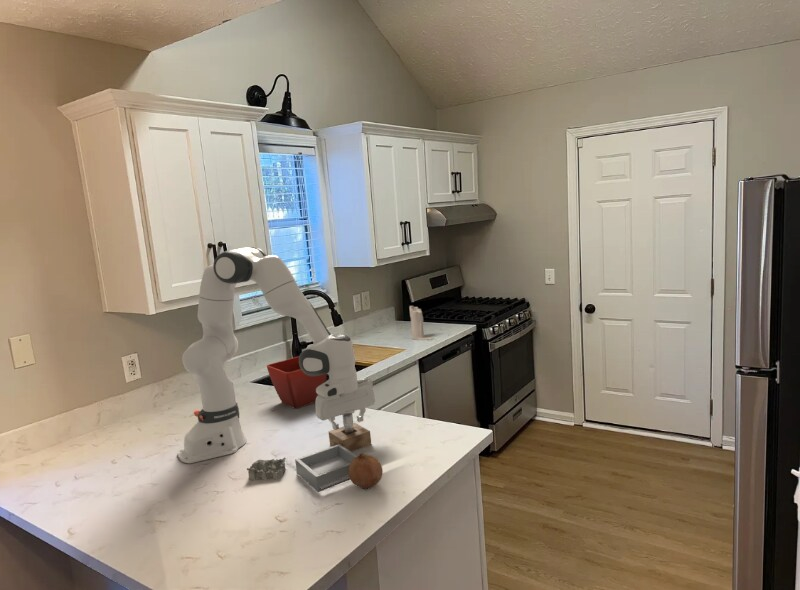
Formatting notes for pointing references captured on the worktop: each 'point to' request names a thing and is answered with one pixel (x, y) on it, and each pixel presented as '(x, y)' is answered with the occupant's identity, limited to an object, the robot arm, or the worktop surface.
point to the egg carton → (267, 465)
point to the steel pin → (348, 422)
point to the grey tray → (327, 476)
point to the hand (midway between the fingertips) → (348, 425)
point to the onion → (365, 471)
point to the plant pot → (294, 383)
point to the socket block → (350, 438)
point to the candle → (417, 324)
